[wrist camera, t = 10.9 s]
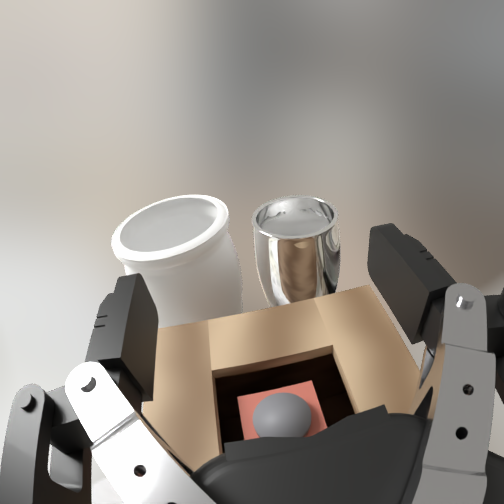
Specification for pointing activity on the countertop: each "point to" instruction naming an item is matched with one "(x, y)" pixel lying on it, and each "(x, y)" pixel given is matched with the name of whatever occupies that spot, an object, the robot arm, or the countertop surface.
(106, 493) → the countertop surface
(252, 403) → the spice tin
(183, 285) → the jar
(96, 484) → the countertop surface
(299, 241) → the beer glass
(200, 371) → the slot box
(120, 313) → the robot arm
